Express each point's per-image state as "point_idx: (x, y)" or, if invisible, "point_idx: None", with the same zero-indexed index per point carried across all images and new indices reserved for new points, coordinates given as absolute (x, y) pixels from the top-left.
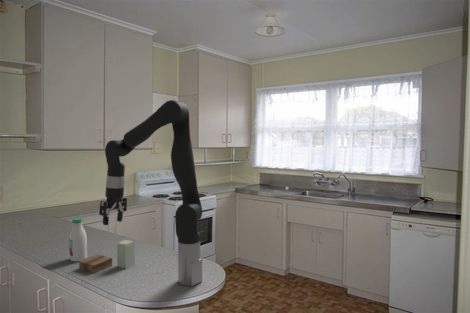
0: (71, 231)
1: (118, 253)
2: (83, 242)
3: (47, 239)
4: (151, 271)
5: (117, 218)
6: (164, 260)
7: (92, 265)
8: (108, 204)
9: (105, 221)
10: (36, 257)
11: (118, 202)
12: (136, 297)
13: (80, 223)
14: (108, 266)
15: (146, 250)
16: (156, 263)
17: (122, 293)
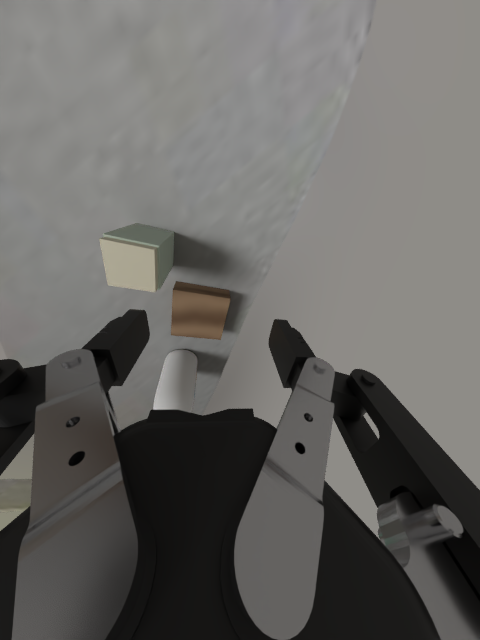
0: None
1: (165, 273)
2: (176, 379)
3: None
4: (147, 110)
5: (142, 347)
6: (16, 108)
7: (229, 302)
8: (377, 538)
9: (303, 339)
10: (206, 402)
11: (120, 615)
12: (352, 35)
13: None
14: (188, 284)
15: (16, 258)
16: (72, 135)
17: (322, 127)
